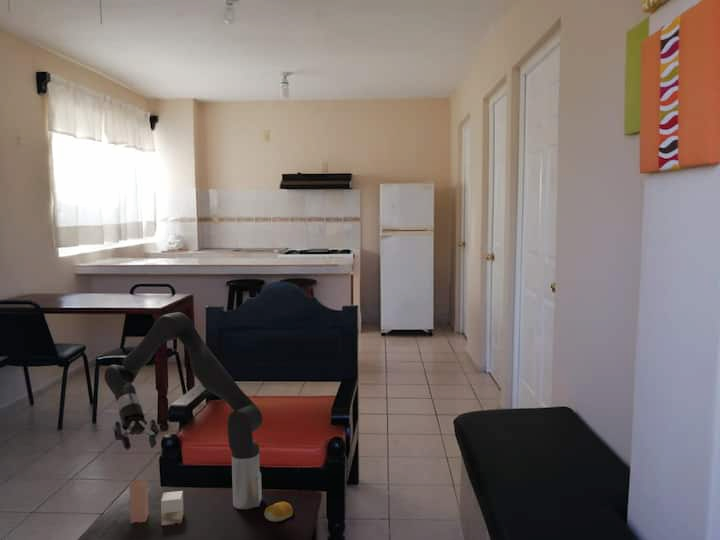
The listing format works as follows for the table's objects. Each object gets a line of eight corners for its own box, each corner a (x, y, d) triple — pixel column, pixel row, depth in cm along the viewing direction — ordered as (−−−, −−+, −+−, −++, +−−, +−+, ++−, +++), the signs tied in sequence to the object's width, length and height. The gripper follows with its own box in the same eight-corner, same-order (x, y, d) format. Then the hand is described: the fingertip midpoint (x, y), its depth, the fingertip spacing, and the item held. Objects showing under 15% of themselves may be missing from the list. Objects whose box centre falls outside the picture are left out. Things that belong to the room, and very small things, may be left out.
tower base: (183, 514, 186) (183, 502, 185) (181, 523, 180) (181, 511, 180) (164, 516, 185) (164, 504, 184) (161, 525, 179) (161, 513, 178)
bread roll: (297, 514, 184) (297, 502, 184) (275, 525, 178) (275, 512, 178) (281, 506, 190) (281, 495, 190) (260, 516, 184) (259, 504, 183)
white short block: (183, 502, 186) (182, 490, 185) (181, 511, 180) (180, 498, 179) (164, 504, 184) (163, 492, 184) (161, 513, 178) (160, 501, 178)
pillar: (148, 515, 186) (147, 479, 185) (145, 521, 181) (144, 485, 180) (133, 516, 185) (132, 480, 184) (131, 523, 180) (129, 486, 180)
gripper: (113, 403, 193) (124, 441, 183) (153, 401, 202) (165, 438, 193) (105, 417, 195) (116, 456, 185) (145, 415, 205) (157, 452, 195)
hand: (141, 447), depth 189 cm, fingers open, 8 cm apart
